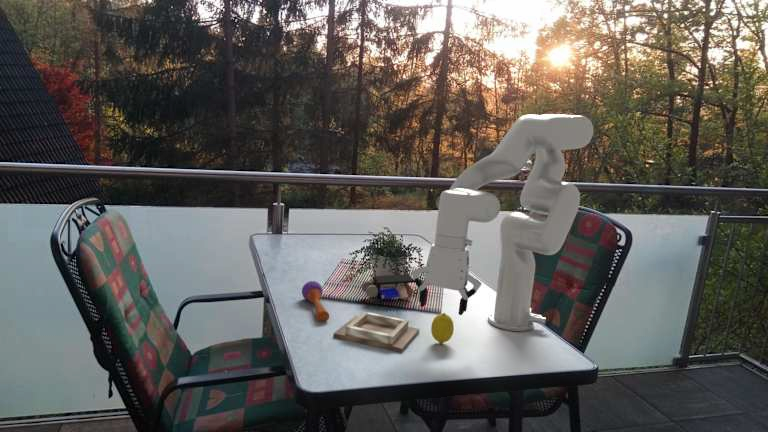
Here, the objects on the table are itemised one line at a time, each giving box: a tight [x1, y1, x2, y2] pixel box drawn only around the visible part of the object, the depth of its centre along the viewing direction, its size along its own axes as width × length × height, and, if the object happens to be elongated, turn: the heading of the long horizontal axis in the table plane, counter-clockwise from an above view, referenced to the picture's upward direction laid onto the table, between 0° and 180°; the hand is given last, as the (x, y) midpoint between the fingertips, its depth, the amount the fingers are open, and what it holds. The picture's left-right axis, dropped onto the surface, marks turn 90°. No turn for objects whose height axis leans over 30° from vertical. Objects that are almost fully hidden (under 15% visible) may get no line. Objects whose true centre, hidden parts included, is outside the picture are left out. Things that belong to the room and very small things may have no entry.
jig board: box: [333, 311, 420, 353], centre depth 140 cm, size 18×14×3 cm
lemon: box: [430, 312, 454, 345], centre depth 137 cm, size 6×6×8 cm
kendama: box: [301, 280, 330, 323], centre depth 155 cm, size 6×6×20 cm
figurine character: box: [360, 273, 416, 303], centre depth 167 cm, size 7×8×15 cm
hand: (441, 309), depth 136 cm, fingers open, 9 cm apart
